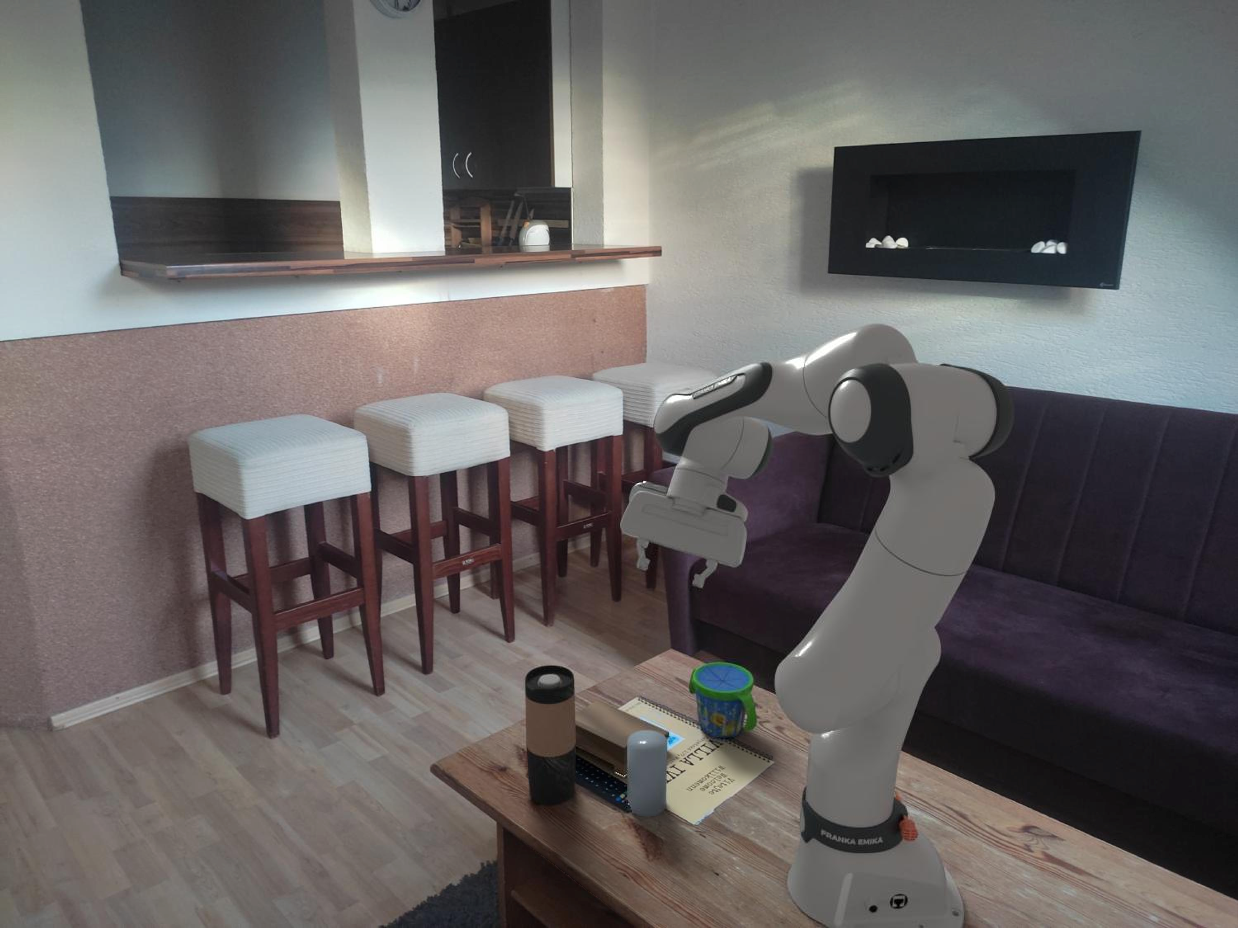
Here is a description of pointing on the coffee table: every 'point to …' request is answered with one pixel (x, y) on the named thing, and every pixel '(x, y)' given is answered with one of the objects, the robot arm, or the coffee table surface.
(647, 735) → the grey rounded cylinder
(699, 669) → the snack cup
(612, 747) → the brown wooden box
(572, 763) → the travel mug
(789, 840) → the coffee table surface
